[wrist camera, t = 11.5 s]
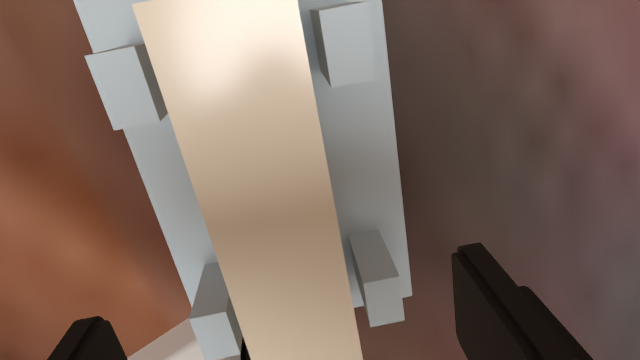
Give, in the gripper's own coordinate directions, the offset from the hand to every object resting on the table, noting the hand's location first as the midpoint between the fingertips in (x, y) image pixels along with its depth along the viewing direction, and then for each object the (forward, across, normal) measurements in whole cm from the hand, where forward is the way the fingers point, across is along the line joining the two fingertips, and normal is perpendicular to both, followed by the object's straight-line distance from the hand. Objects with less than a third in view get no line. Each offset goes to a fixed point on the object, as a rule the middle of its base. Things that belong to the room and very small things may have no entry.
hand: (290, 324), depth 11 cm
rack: (+11, +1, -1) cm, 11 cm away
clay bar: (+10, 0, -1) cm, 10 cm away
